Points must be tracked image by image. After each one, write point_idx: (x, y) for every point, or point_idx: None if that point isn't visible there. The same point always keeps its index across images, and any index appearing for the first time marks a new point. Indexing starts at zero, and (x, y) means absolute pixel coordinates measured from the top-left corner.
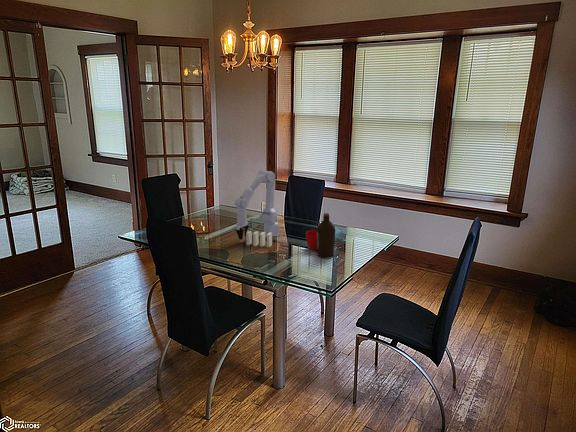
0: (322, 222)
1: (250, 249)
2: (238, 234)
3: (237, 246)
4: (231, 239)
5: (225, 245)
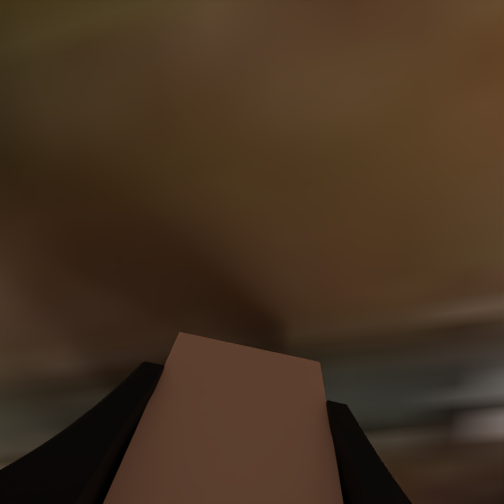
0: None
1: (17, 459)
2: (81, 441)
3: (87, 291)
4: (482, 101)
5: (88, 66)
